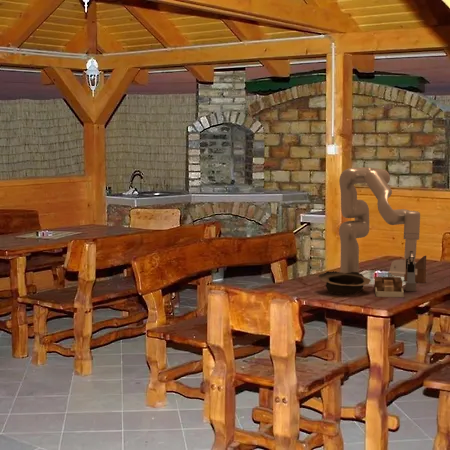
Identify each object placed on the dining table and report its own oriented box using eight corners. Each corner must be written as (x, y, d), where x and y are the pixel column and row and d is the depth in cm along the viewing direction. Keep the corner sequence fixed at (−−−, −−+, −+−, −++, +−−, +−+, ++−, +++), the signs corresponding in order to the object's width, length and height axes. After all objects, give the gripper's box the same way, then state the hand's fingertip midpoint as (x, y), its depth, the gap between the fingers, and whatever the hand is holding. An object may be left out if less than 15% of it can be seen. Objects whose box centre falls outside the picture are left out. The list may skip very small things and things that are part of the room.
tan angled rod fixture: (423, 283, 431) (424, 248, 429) (403, 281, 437) (404, 247, 435) (425, 282, 434) (426, 248, 432) (406, 280, 440) (407, 246, 438)
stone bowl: (330, 285, 423) (331, 267, 422) (376, 293, 411) (378, 275, 410) (310, 292, 402) (311, 274, 401) (358, 301, 390) (360, 282, 388)
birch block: (384, 293, 400) (384, 295, 396) (384, 285, 399) (384, 286, 395) (392, 293, 399) (393, 295, 395) (393, 285, 399) (393, 287, 395)
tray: (375, 296, 394) (376, 291, 394) (375, 292, 406) (375, 287, 405) (403, 297, 392) (403, 292, 392) (402, 292, 404) (402, 287, 404)
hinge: (387, 275, 455) (389, 257, 457) (390, 277, 459) (392, 259, 461) (417, 277, 447) (419, 259, 448) (419, 279, 450) (422, 261, 452)
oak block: (384, 293, 400) (384, 281, 399) (383, 292, 404) (384, 279, 403) (392, 293, 399) (392, 281, 398) (392, 292, 403) (392, 280, 402)
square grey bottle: (406, 291, 408) (406, 263, 407) (405, 290, 411) (405, 262, 410) (416, 291, 407) (416, 263, 406) (415, 290, 411) (416, 262, 409)
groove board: (375, 292, 406) (375, 281, 405) (374, 287, 419) (374, 276, 418) (402, 292, 404) (402, 281, 403) (400, 288, 417) (400, 277, 416)
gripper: (402, 233, 416) (401, 267, 418) (404, 238, 399) (403, 273, 401) (417, 234, 415) (416, 267, 417) (420, 238, 398) (419, 274, 400)
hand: (409, 270), depth 409 cm, fingers open, 9 cm apart
